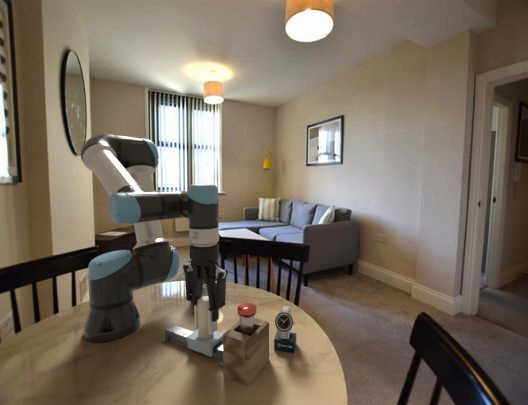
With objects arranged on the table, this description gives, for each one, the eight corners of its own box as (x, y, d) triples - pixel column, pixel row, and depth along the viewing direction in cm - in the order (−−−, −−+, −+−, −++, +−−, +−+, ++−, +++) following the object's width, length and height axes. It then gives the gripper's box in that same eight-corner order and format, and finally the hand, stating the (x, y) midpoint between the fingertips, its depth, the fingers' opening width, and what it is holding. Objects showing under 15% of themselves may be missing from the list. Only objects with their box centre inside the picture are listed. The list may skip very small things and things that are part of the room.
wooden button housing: (223, 375, 62) (222, 334, 61) (245, 351, 70) (245, 315, 70) (248, 386, 58) (248, 343, 58) (269, 359, 67) (269, 322, 66)
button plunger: (233, 334, 63) (233, 309, 62) (244, 325, 67) (244, 301, 66) (250, 339, 61) (250, 313, 60) (259, 329, 65) (259, 305, 64)
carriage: (186, 348, 70) (185, 300, 69) (202, 336, 75) (201, 292, 74) (210, 357, 66) (209, 307, 65) (224, 344, 71) (224, 298, 70)
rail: (161, 342, 75) (160, 331, 74) (177, 331, 80) (176, 322, 80) (223, 367, 64) (223, 356, 64) (237, 353, 69) (237, 342, 69)
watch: (272, 354, 69) (272, 314, 68) (278, 337, 77) (278, 301, 76) (293, 358, 68) (294, 317, 67) (297, 340, 76) (297, 303, 75)
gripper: (169, 242, 69) (172, 327, 71) (221, 250, 61) (222, 346, 63) (190, 237, 76) (191, 315, 77) (239, 244, 68) (240, 330, 69)
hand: (205, 329), depth 70 cm, fingers closed on carriage, 4 cm apart
